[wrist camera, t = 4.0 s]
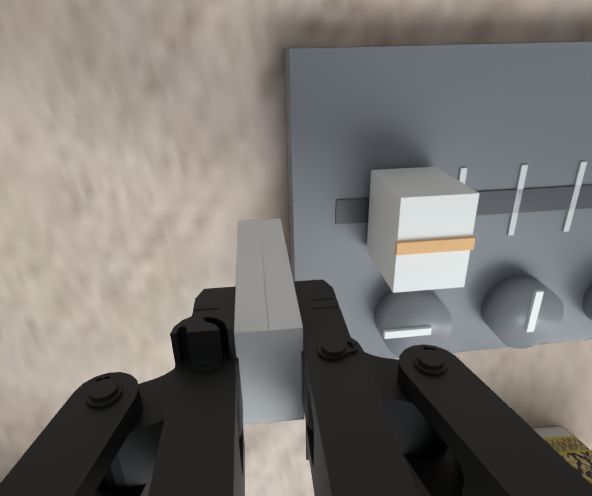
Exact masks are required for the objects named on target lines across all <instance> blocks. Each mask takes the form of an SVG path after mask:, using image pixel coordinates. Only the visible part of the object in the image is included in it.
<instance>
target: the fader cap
mask: <svg viewBox="0 0 592 496" xmlns="http://www.w3.org/2000/svg"><path fill="white" fill-rule="evenodd" d="M478 199H479V193H478V192H477V191H475V190H473V189H472V188H470V187H468V186H467V185H465V184H463V183H462V182H460V181H458V180H457V179H455V178H454V177H452V176H450V175H449V174H447V173H445V172H444V171H442V170H440V169H439V168H437V167H418V168H399V169H379V170H371V179H370V198H369V217H368V236H367V252H368V254H369V255H370V257H371V258H372V260H373V262H374V263H375V265H376V266H377V268H378V270H379V271H380V273H381V274H382V276H383V278H384V279H385V281H386V282H387V284H388V286H389V287H390V289H391V290H392V292H393V293H396V292H409V291H421V290H433V289H446V288H458V287H464V285H465V279H466V273H467V267H468V260H469V254H470V250H474V244H475V237H474V236H473V230H474V224H475V218H476V212H477V206H478Z"/></svg>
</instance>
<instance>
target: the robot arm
mask: <svg viewBox="0 0 592 496" xmlns="http://www.w3.org/2000/svg"><path fill="white" fill-rule="evenodd" d="M170 336H171V341H172V347H173V353H174V359H175V364H176V365H175V368H174V369H173V370H172V371H170V372H169V373H167V374H165V375H163V376H161V377H158V378H156V379H153V380H150V381H147V382H144V383H140V384H138V382H137V380H136V379H135V378H134V377H133V376H132V375H130V374H126V373H122V372H115V373H106V374H103V375H100V376H96V377H94V378H92V379H91V380H89V381H87V382H85V383H83V384H82V385H81V386H80V387H79V388H78V389H77V390H76V391H75V392H74V393H73V394H72V395H71V397H70V398H69V399H68V400H67V402H66V403H65V404H64V405H63V406H62V408H61V409H60V410H59V411H58V413H57V414H56V415H55V416H54V418H53V419H52V420H51V421H50V423H49V424H48V425H47V426H46V428H45V429H44V430H43V431H42V432H41V434H40V435H39V436H38V437H37V439H36V440H35V441H34V442H33V444H32V445H31V446H30V447H29V449H28V450H27V451H26V452H25V453H24V455H23V456H22V457H21V458H20V460H19V461H18V462H17V463H16V465H15V466H14V467H13V468H12V470H11V471H10V472H9V473H8V475H7V476H6V477H5V478H4V479H3V481H2V482H1V483H0V496H245V443H244V433H243V425H248V424H258V423H268V422H279V421H289V420H299V419H304V413H305V419H306V460H310V467H311V474H312V480H313V487H314V493H315V496H592V484H591V483H590V482H589V481H588V480H587V479H586V478H585V477H583V476H582V475H581V474H580V473H579V472H578V471H577V470H576V469H575V468H574V467H573V466H572V465H571V464H570V463H569V462H568V461H566V460H565V459H564V458H563V457H562V456H561V455H560V454H559V453H558V452H557V451H556V450H555V449H554V448H553V447H552V446H550V445H549V444H548V443H547V442H546V441H545V440H544V439H543V438H542V437H541V436H540V435H539V434H538V433H537V432H536V431H535V430H533V429H532V428H531V427H530V426H529V425H528V424H527V423H526V422H525V421H524V420H523V419H522V418H521V417H520V416H519V415H518V414H516V413H515V412H514V411H513V410H512V409H511V408H510V407H509V406H508V405H507V404H506V403H505V402H504V401H503V400H502V399H500V398H499V397H498V396H497V395H496V394H495V393H494V392H493V391H492V390H491V389H490V388H489V387H488V386H487V385H486V384H485V383H483V382H482V381H481V380H480V379H479V378H478V377H477V376H476V375H475V374H474V373H473V372H472V371H471V370H470V369H469V368H468V367H466V366H465V365H464V364H463V363H462V362H461V361H460V360H459V359H458V358H457V357H456V356H454V355H453V354H452V353H450V352H449V351H447V350H445V349H442V348H440V347H437V346H432V345H425V344H422V345H413V346H411V347H409V348H406V349H404V351H403V352H402V353H401V354H400V357H399V360H397V359H390V358H382V357H378V356H374V355H371V354H368V353H366V352H364V351H363V348H362V347H361V346H360V344H359V343H358V341H356V340H354V339H353V338H351V337H350V334H349V331H348V328H347V325H346V323H345V320H344V317H343V314H342V312H341V309H340V307H339V303H338V301H337V299H336V295H335V292H334V289H333V287H332V286H330V285H329V284H328V283H327V282H326V281H324V280H323V279H320V280H306V281H293V277H292V272H291V267H290V262H289V258H288V253H287V248H286V243H285V238H284V233H283V228H282V223H281V219H263V220H245V221H238V237H237V265H236V287H224V288H210V289H204V290H203V291H202V292H201V293H200V294H199V295H198V296H197V298H196V299H195V304H194V309H193V314H192V317H189V318H187V319H184V320H182V321H181V322H180V323H178V324H177V325H176V326H174V328H173V330H172V332H171V333H170Z"/></svg>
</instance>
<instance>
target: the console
mask: <svg viewBox="0 0 592 496" xmlns="http://www.w3.org/2000/svg"><path fill="white" fill-rule="evenodd" d="M285 78H286V113H287V149H288V184H289V219H290V254H291V272H292V277H293V281H306V280H320V279H323V280H324V281H326V282H327V283H328V284H329V285H330V286H332V287H333V289H334V292H335V295H336V299H337V301H338V303H339V307H340V309H341V312H342V314H343V317H344V320H345V323H346V325H347V328H348V331H349V334H350V337H351V338H353V339H354V340H356V341H358V343H359V344H360V346H361V347H362V348H363V351H364V352H366V353H368V354H371V355H374V356H378V357H382V358H390V359H392V358H399V357H400V354H401V353H402V352H403V351H404V349H406V348H409V347H411V346H413V345H422V344H425V345H432V346H437V347H440V348H442V349H445V350H447V351H449V352H450V353H455V352H465V351H475V350H486V349H496V348H507V347H512V348H528V347H532V346H535V345H538V344H548V343H558V342H569V341H579V340H590V339H592V42H549V43H505V44H462V45H418V46H374V47H330V48H287V49H285ZM418 167H437V168H439V169H440V170H442V171H444V172H445V173H447V174H449V175H450V176H452V177H454V178H455V179H457V180H458V181H460V182H462V183H463V184H465V185H467V186H468V187H470V188H472V189H473V190H475V191H477V192H478V193H479V199H478V206H477V212H476V218H475V224H474V230H473V236H474V237H475V244H474V250H470V254H469V260H468V267H467V273H466V279H465V285H464V287H458V288H446V289H433V290H421V291H409V292H396V293H393V292H392V290H391V289H390V287H389V286H388V284H387V282H386V281H385V279H384V278H383V276H382V274H381V273H380V271H379V270H378V268H377V266H376V265H375V263H374V262H373V260H372V258H371V257H370V255H369V254H368V252H367V236H368V217H369V198H370V179H371V170H379V169H399V168H418Z"/></svg>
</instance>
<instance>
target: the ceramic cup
mask: <svg viewBox="0 0 592 496" xmlns="http://www.w3.org/2000/svg"><path fill="white" fill-rule="evenodd" d="M532 429H533V430H535V431H536V432H537V433H538V434H539V435H540V436H541V437H542V438H543V439H544V440H545V441H546V442H547V443H548V444H549V445H550V446H552V447H553V448H554V449H555V450H556V451H557V452H558V453H559V454H560V455H561V456H562V457H563V458H564V459H565V460H566V461H568V462H569V463H570V464H571V465H572V466H573V467H574V468H575V469H576V470H577V471H578V472H579V473H580V474H581V475H582V476H583V477H585V478H586V479H587V480H588V481H589V482H590V483H591V484H592V451H591V450H590V449H589V448H587V447H586V446H585V445H584V444H583V443H582V442H581V441H580V440H579V439H577V438H576V437H575V436H574V435H572V434H571V433H570V432H569V431H568V430H567V429H565V428H562V427H561V426H556V427H543V428H532Z"/></svg>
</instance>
